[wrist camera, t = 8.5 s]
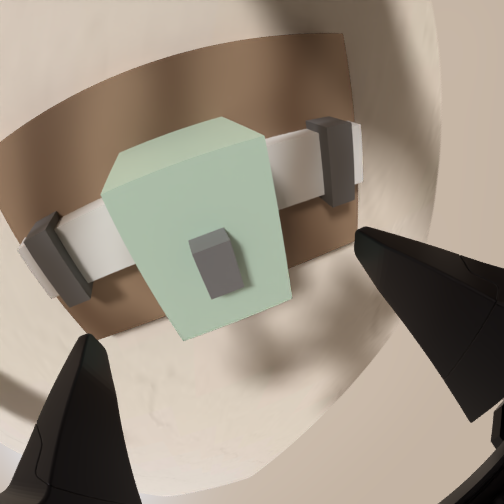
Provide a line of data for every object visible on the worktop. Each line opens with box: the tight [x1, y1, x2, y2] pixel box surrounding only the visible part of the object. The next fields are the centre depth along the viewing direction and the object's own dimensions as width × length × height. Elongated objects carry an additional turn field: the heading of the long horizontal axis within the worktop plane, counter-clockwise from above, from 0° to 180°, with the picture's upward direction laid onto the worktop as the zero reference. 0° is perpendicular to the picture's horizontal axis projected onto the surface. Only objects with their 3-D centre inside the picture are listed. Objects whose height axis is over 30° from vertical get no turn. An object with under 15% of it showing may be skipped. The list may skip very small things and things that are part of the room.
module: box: [100, 117, 292, 341], centre depth 11 cm, size 5×7×6 cm
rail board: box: [0, 33, 363, 340], centre depth 13 cm, size 20×14×4 cm
